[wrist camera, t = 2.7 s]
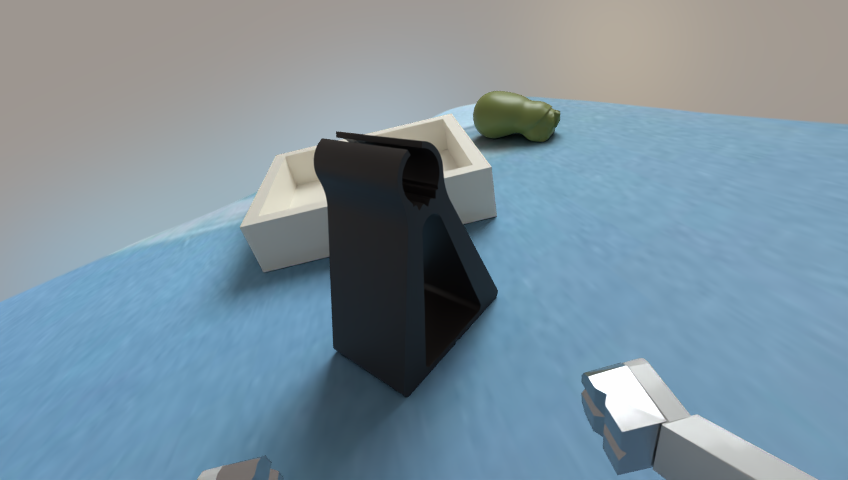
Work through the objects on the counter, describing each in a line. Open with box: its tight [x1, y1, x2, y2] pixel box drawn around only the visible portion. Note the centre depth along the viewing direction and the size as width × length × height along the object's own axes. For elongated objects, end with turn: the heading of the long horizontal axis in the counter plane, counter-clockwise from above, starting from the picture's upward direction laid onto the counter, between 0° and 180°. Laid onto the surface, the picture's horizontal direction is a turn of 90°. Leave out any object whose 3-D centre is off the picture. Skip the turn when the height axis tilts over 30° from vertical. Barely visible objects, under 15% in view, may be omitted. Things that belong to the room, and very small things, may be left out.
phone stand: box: [314, 132, 498, 397], centre depth 22 cm, size 9×6×12 cm, turn 139°
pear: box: [473, 91, 560, 142], centre depth 46 cm, size 6×5×10 cm
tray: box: [240, 114, 497, 272], centre depth 39 cm, size 20×16×4 cm
